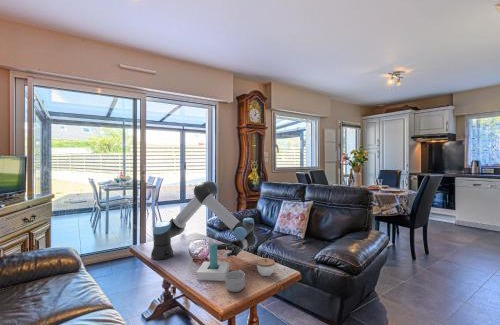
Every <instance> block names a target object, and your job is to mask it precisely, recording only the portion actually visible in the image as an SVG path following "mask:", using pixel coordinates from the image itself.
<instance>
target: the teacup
mask: <svg viewBox="0 0 500 325" xmlns="http://www.w3.org/2000/svg"><path fill="white" fill-rule="evenodd" d="M224 282H225V288H226V289H227V290H228V291H229V292H231V293H238V292H240V291H242V290H243V289H244V288H245V286H246V273H245V272H244V271H243V269H238V270H231V271H228V273H226V274H225V281H224Z"/></svg>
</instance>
